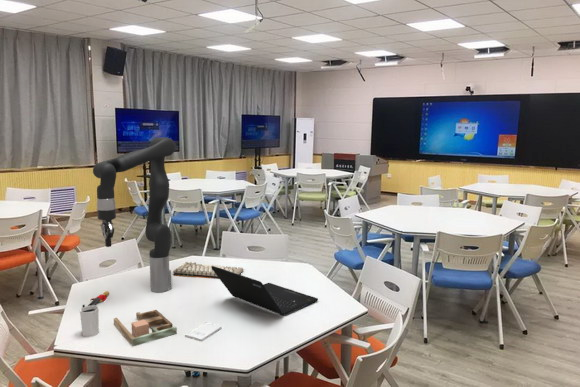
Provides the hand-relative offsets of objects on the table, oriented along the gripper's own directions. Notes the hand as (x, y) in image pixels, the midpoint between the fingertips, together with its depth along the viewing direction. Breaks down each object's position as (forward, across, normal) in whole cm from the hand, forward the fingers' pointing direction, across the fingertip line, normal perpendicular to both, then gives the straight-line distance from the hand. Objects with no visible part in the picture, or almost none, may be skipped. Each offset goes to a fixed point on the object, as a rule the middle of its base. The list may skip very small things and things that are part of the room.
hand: (108, 246), depth 195 cm
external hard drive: (+28, -51, -21) cm, 61 cm away
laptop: (+28, -41, -57) cm, 75 cm away
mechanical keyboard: (+28, +14, -57) cm, 65 cm away
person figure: (+28, +6, +4) cm, 29 cm away
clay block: (+27, -38, 0) cm, 47 cm away
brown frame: (+27, -34, -3) cm, 43 cm away
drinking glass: (+27, -25, +15) cm, 40 cm away
